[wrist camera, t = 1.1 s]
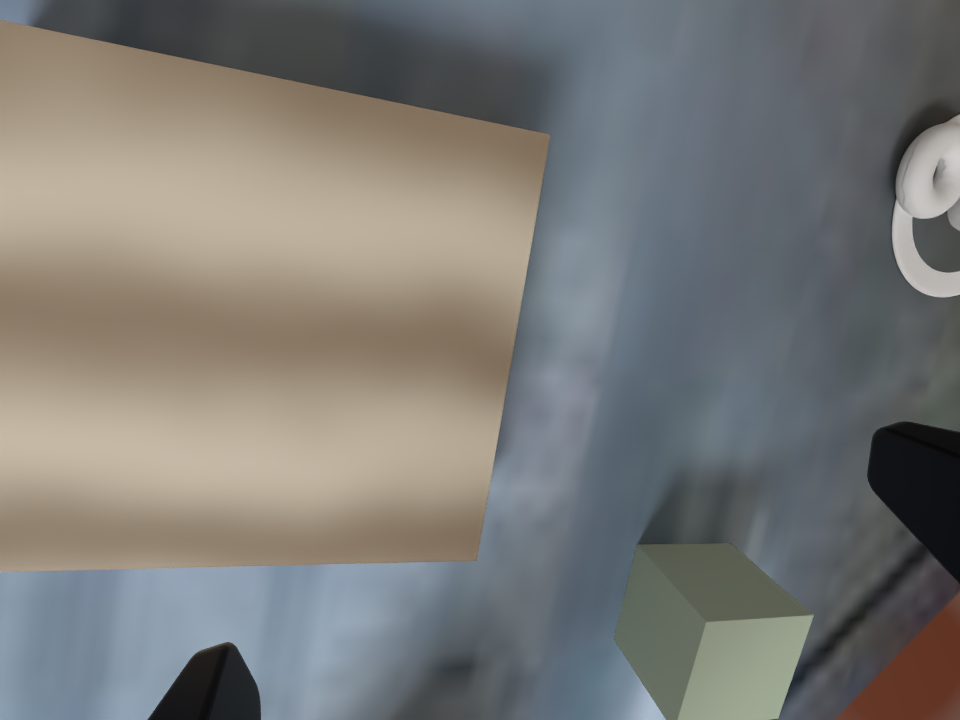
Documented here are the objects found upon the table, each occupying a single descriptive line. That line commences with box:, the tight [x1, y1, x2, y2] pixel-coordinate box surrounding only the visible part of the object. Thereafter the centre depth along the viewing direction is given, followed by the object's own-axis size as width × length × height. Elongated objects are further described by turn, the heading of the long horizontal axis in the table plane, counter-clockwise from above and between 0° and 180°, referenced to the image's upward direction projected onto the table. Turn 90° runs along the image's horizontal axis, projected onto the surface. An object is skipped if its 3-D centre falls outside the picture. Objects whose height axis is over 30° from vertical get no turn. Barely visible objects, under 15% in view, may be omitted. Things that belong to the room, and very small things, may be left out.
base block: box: [0, 20, 550, 572], centre depth 18 cm, size 14×14×3 cm
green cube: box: [614, 543, 814, 720], centre depth 25 cm, size 5×5×5 cm
